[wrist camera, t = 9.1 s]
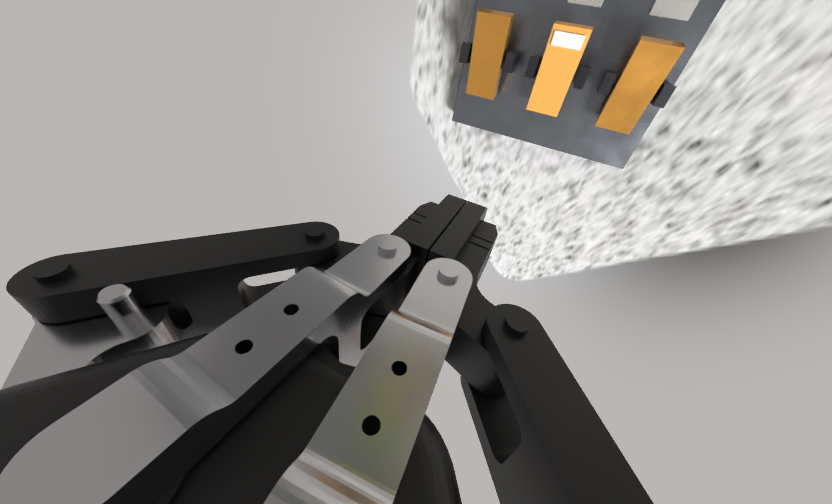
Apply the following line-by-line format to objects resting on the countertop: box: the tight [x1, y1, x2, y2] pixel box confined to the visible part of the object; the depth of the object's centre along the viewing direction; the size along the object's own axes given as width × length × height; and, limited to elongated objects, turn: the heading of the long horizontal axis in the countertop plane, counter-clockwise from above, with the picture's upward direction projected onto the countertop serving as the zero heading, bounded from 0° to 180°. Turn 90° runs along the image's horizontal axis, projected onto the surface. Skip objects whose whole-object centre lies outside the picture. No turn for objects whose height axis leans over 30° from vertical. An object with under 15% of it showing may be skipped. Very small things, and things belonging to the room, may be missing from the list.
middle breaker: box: [526, 20, 594, 117], centre depth 27 cm, size 3×7×1 cm, turn 171°
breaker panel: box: [452, 0, 725, 169], centre depth 28 cm, size 19×14×6 cm
